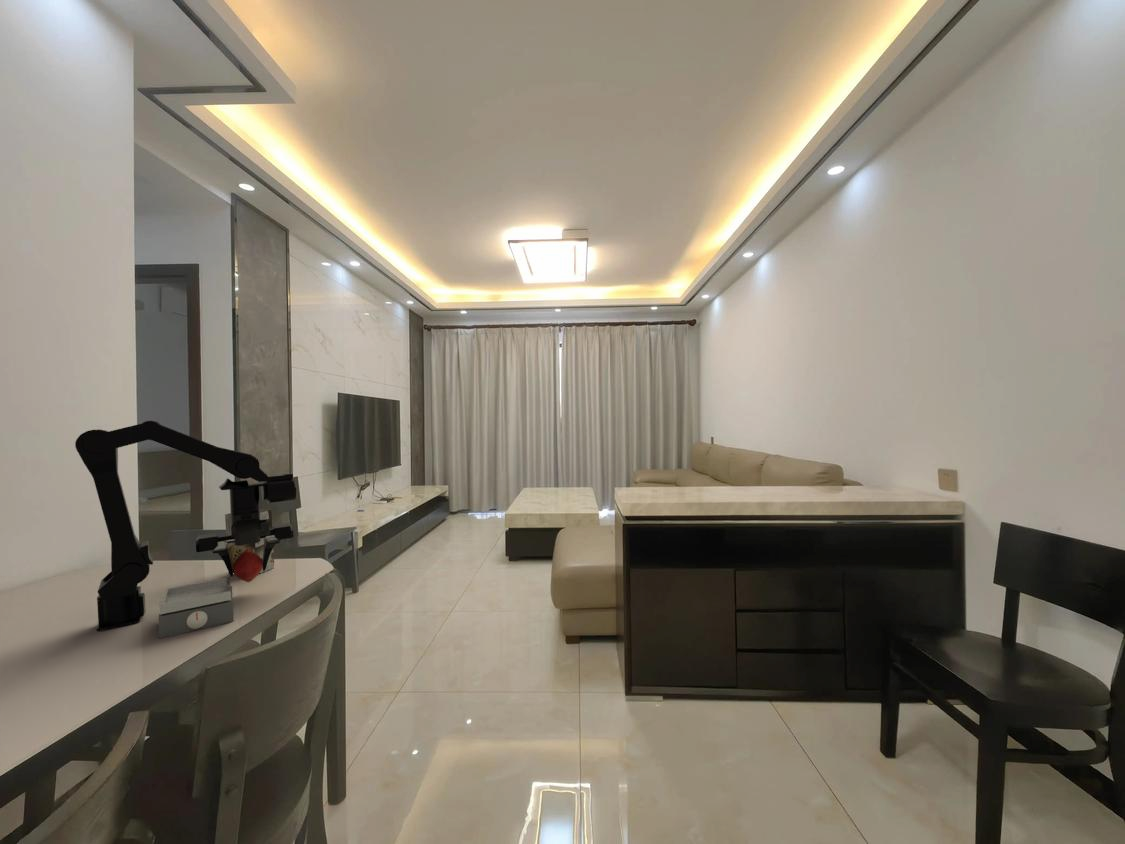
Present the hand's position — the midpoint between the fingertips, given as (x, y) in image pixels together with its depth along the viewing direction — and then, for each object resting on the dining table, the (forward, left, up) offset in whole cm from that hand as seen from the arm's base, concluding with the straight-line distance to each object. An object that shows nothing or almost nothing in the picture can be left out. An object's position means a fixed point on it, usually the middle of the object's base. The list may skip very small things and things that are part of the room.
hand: (248, 573), depth 113 cm
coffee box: (+1, +20, -5) cm, 20 cm away
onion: (0, 0, -2) cm, 2 cm away
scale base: (-9, -11, -5) cm, 15 cm away
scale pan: (-9, -12, 0) cm, 15 cm away
